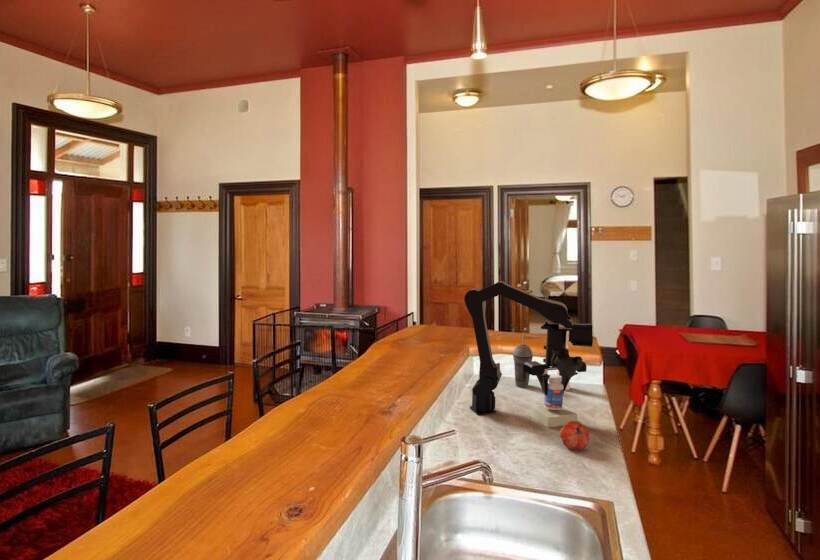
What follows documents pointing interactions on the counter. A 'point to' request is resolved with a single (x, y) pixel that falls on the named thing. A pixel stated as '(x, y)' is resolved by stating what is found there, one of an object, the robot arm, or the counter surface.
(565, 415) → the plinth
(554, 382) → the pill bottle
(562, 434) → the pomegranate
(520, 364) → the beverage cup
